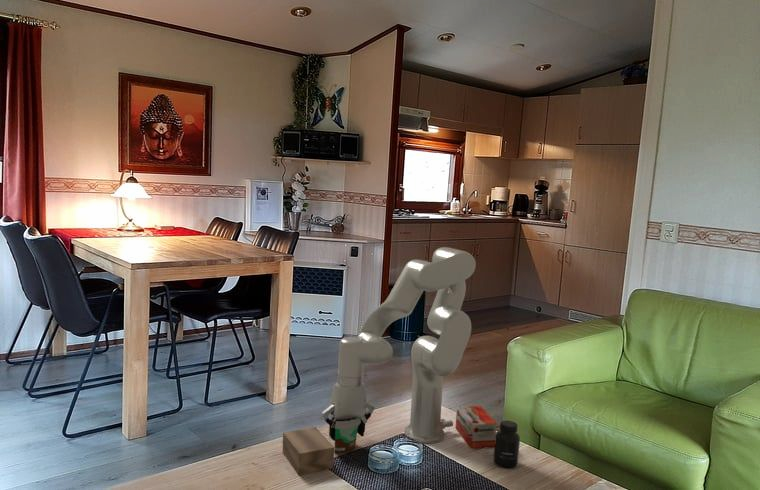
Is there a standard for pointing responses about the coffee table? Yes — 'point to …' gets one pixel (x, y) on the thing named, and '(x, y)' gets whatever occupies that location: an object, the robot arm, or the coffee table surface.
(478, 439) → the medicine box
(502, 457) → the supplement bottle
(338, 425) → the food container
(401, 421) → the coffee table surface
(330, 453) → the block
